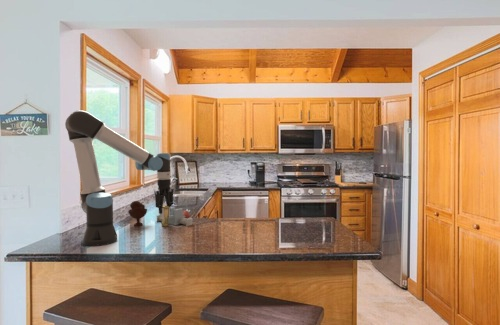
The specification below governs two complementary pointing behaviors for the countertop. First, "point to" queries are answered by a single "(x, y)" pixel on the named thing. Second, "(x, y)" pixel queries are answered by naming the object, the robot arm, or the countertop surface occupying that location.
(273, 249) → the countertop surface
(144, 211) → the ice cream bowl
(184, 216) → the valve
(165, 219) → the brass nipple
